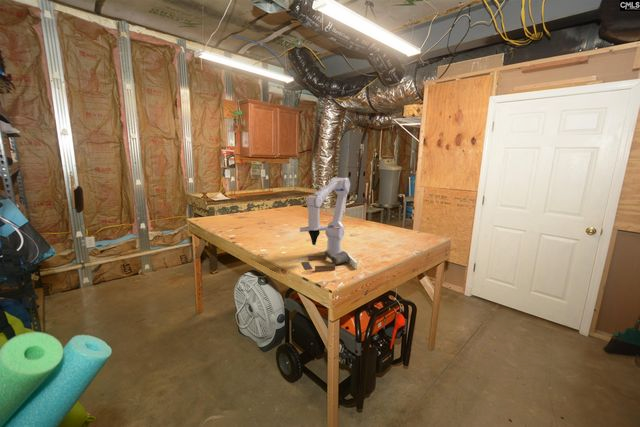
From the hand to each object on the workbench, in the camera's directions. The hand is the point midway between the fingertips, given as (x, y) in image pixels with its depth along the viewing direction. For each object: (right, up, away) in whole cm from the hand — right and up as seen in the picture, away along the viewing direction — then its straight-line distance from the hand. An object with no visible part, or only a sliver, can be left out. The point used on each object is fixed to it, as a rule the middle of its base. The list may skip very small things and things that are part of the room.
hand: (313, 244), depth 147 cm
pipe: (+9, -7, 0) cm, 11 cm away
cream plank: (+19, -10, +2) cm, 21 cm away
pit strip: (-3, -11, -3) cm, 12 cm away
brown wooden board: (+4, -10, -1) cm, 11 cm away
